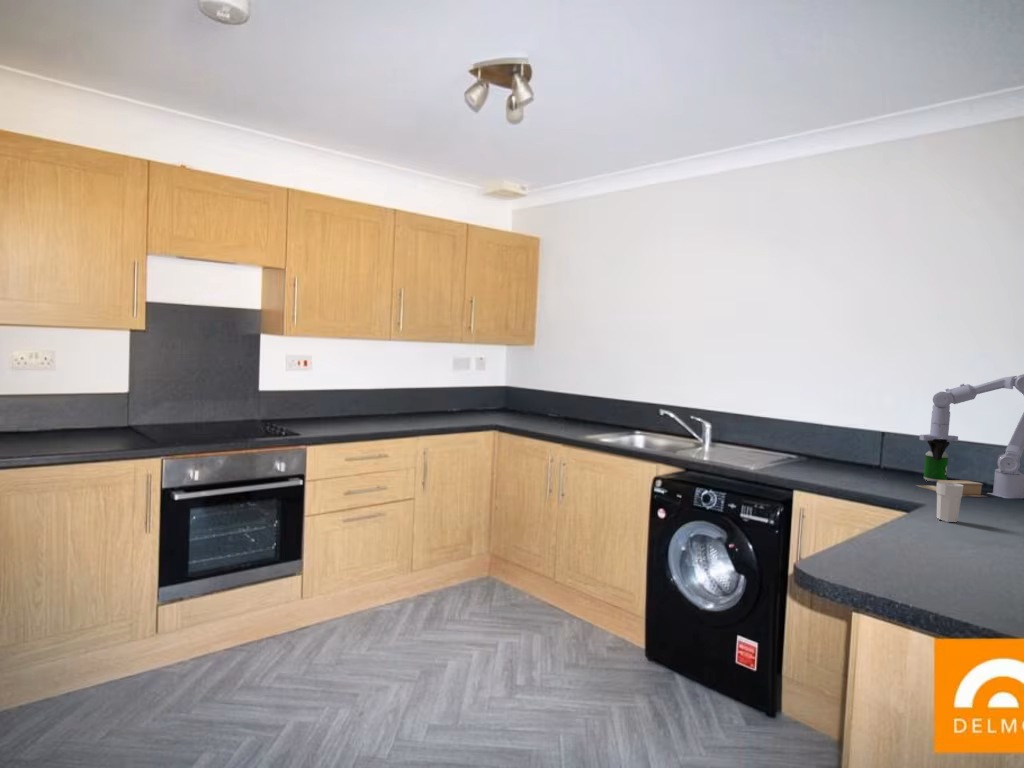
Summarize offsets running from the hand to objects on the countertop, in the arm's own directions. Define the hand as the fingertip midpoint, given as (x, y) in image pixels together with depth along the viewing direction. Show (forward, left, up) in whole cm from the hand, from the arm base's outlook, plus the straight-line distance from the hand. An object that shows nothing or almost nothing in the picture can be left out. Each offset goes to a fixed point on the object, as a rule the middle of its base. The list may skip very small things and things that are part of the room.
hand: (936, 459), depth 244 cm
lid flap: (+1, +12, -6) cm, 14 cm away
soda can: (-9, -10, -11) cm, 17 cm away
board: (+1, +9, -10) cm, 13 cm away
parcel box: (+1, +12, -10) cm, 16 cm away
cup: (+38, +47, -11) cm, 61 cm away
